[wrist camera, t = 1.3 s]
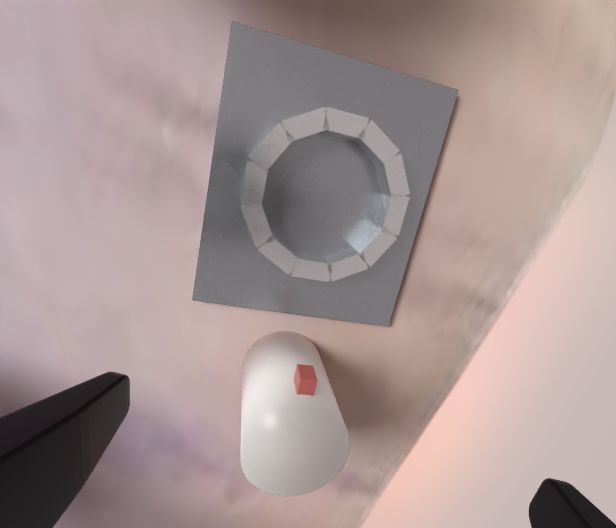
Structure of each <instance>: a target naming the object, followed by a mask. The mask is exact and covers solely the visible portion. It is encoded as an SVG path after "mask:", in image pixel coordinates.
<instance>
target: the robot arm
mask: <svg viewBox="0 0 616 528" xmlns="http://www.w3.org/2000/svg"><path fill="white" fill-rule="evenodd" d="M129 406H130V379H129V377H128V376H127V375H124V374H120V373H116V372H107V373H104V374H102V375H100V376H97V377H95V378H93V379H90V380H88V381H85V382H83V383H81V384H78V385H76V386H74V387H71V388H69V389H67V390H64V391H62V392H59V393H57V394H55V395H52V396H50V397H48V398H45V399H43V400H41V401H38V402H36V403H33V404H31V405H29V406H26V407H24V408H22V409H19V410H17V411H14V412H12V413H10V414H7V415H5V416H3V417H0V528H53V527H54V525H55V524H56V522H57V521H58V520H59V518H60V517H61V516H62V514H63V513H64V512H65V510H66V509H67V508H68V506H69V505H70V503H71V502H72V501H73V499H74V498H75V497H76V495H77V494H78V492H79V491H80V490H81V488H82V487H83V485H84V484H85V482H86V481H87V479H88V478H89V476H90V474H91V473H92V471H93V470H94V468H95V466H96V465H97V463H98V461H99V460H100V458H101V456H102V455H103V453H104V451H105V450H106V448H107V446H108V445H109V443H110V441H111V440H112V438H113V436H114V435H115V433H116V432H117V430H118V428H119V427H120V425H121V423H122V422H123V420H124V418H125V417H126V415H127V413H128V410H129ZM529 518H530V523H531V527H532V528H616V525H615V524H614V523H613V522H612V521H611V520H610V519H609V518H608V517H607V516H606V515H604V514H603V513H602V512H601V511H600V510H599V509H598V508H596V506H594V505H593V504H592V503H591V502H590V501H589V500H588V499H587V498H586V497H584V496H583V495H582V494H581V493H580V492H579V491H578V490H577V489H575V488H574V487H573V486H572V485H571V484H569V483H567V482H564V481H560V480H555V479H551V478H548V479H545V480H544V481H543V482H542V484H541V485H540V487H539V489H538V491H537V492H536V494H535V496H534V497H533V499H532V501H531V503H530V506H529Z"/></svg>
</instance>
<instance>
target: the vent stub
mask: <svg viewBox="0 0 616 528" xmlns="http://www.w3.org/2000/svg"><path fill="white" fill-rule="evenodd" d="M349 451H350V438H349V434H348V431H347V428H346V426H345V423H344V420H343V418H342V415H341V412H340V409H339V407H338V404H337V401H336V398H335V396H334V393H333V390H332V388H331V385H330V382H329V379H328V377H327V374H326V371H325V368H324V366H323V363H322V360H321V358H320V355H319V352H318V350H317V348H316V347H315V345H314V344H313V343H312V342H311V341H310V340H309V339H308V338H306V337H305V336H303V335H301V334H298V333H294V332H287V331H283V332H275V333H271V334H268V335H266V336H264V337H262V338H261V339H259V340H258V341H256V342H255V343H254V344H253V345H252V346H251V347H250V349H249V350H248V352H247V353H246V356H245V358H244V362H243V373H242V416H241V466H242V469H243V472H244V474H245V476H246V477H247V479H248V480H249V481H250V482H251V483H252V484H253V485H254V486H255V487H257V488H258V489H260V490H262V491H264V492H266V493H270V494H273V495H278V496H296V495H302V494H306V493H309V492H312V491H314V490H317V489H319V488H321V487H322V486H324V485H326V484H327V483H328V482H330V481H331V480H332V479H333V478H334V477H335V476H336V475H337V474H338V473H339V472H340V471H341V469H342V468H343V466H344V465H345V463H346V461H347V458H348V455H349Z"/></svg>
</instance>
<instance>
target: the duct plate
mask: <svg viewBox="0 0 616 528" xmlns="http://www.w3.org/2000/svg"><path fill="white" fill-rule="evenodd" d="M458 91H459V90H457V89H453V88H450V87H447V86H443V85H440V84H437V83H434V82H430V81H427V80H424V79H420V78H417V77H414V76H411V75H407V74H404V73H401V72H397V71H394V70H391V69H388V68H384V67H381V66H378V65H375V64H371V63H368V62H365V61H361V60H358V59H355V58H352V57H348V56H345V55H342V54H338V53H335V52H332V51H329V50H325V49H322V48H319V47H315V46H312V45H309V44H306V43H302V42H299V41H296V40H292V39H289V38H286V37H283V36H279V35H276V34H273V33H270V32H266V31H263V30H260V29H256V28H253V27H250V26H247V25H243V24H240V23H237V22H233V21H232V24H231V31H230V38H229V45H228V52H227V59H226V66H225V73H224V80H223V87H222V94H221V101H220V108H219V115H218V122H217V129H216V136H215V143H214V150H213V157H212V164H211V171H210V178H209V186H208V193H207V200H206V207H205V214H204V221H203V228H202V235H201V242H200V249H199V256H198V263H197V270H196V277H195V284H194V291H193V298H192V300H194V301H202V302H209V303H217V304H224V305H232V306H239V307H247V308H254V309H262V310H269V311H277V312H284V313H292V314H299V315H307V316H314V317H321V318H329V319H336V320H344V321H351V322H359V323H366V324H374V325H381V326H389V323H390V319H391V316H392V313H393V309H394V306H395V303H396V299H397V296H398V292H399V289H400V286H401V282H402V279H403V276H404V272H405V269H406V266H407V262H408V259H409V255H410V252H411V249H412V245H413V242H414V239H415V235H416V232H417V229H418V225H419V222H420V219H421V215H422V212H423V208H424V205H425V202H426V198H427V195H428V192H429V188H430V185H431V182H432V178H433V175H434V171H435V168H436V165H437V161H438V158H439V155H440V151H441V148H442V145H443V141H444V138H445V134H446V131H447V128H448V124H449V121H450V118H451V114H452V111H453V108H454V104H455V101H456V97H457V94H458Z"/></svg>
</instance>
